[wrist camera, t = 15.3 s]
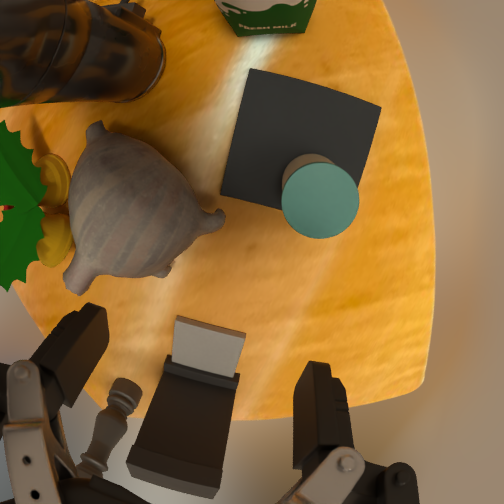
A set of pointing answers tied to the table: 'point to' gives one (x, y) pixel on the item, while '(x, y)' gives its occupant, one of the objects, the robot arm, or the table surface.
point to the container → (318, 196)
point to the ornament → (30, 209)
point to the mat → (293, 134)
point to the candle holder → (109, 427)
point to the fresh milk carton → (266, 15)
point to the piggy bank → (129, 211)
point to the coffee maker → (190, 411)
